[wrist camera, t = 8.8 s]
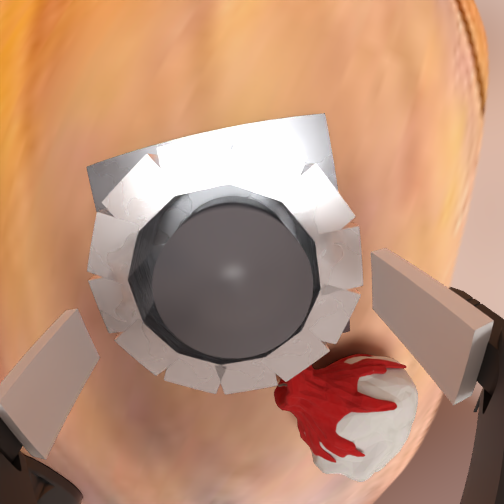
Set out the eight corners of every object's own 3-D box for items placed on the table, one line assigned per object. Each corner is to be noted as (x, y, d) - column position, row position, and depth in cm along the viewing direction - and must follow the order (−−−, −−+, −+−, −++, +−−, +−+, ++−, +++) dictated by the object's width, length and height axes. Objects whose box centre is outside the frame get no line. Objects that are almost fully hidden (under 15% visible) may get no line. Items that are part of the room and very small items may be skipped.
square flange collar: (153, 361, 23) (137, 410, 17) (91, 166, 18) (46, 170, 12) (346, 326, 23) (374, 369, 17) (321, 115, 18) (354, 98, 12)
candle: (358, 435, 27) (239, 390, 26) (428, 361, 24) (309, 295, 23) (376, 497, 18) (228, 465, 17) (469, 418, 15) (330, 359, 14)
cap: (191, 315, 21) (178, 367, 15) (162, 210, 18) (133, 230, 13) (297, 295, 21) (319, 342, 15) (280, 185, 18) (301, 195, 13)
